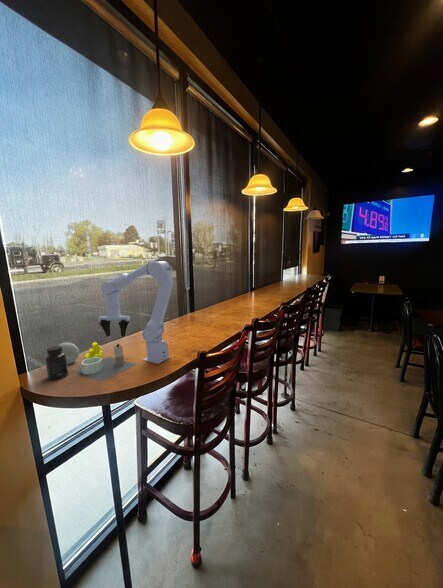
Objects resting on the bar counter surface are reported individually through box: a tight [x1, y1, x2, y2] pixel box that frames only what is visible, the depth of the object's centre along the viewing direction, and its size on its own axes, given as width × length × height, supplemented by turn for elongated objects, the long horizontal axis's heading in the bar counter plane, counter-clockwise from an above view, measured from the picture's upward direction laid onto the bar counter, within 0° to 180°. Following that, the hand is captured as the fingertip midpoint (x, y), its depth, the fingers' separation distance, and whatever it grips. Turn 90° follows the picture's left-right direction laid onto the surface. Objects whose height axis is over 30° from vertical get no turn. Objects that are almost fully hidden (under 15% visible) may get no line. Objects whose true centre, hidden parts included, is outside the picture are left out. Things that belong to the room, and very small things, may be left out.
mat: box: [71, 356, 138, 382], centre depth 104 cm, size 19×17×1 cm
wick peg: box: [113, 343, 125, 366], centre depth 106 cm, size 3×3×9 cm
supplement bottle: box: [44, 345, 69, 381], centre depth 97 cm, size 7×7×12 cm
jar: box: [80, 357, 103, 375], centre depth 101 cm, size 8×8×4 cm
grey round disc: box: [57, 341, 80, 365], centre depth 109 cm, size 10×4×10 cm, turn 106°
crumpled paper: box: [84, 341, 104, 360], centre depth 115 cm, size 6×8×8 cm
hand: (115, 336), depth 115 cm, fingers open, 7 cm apart
